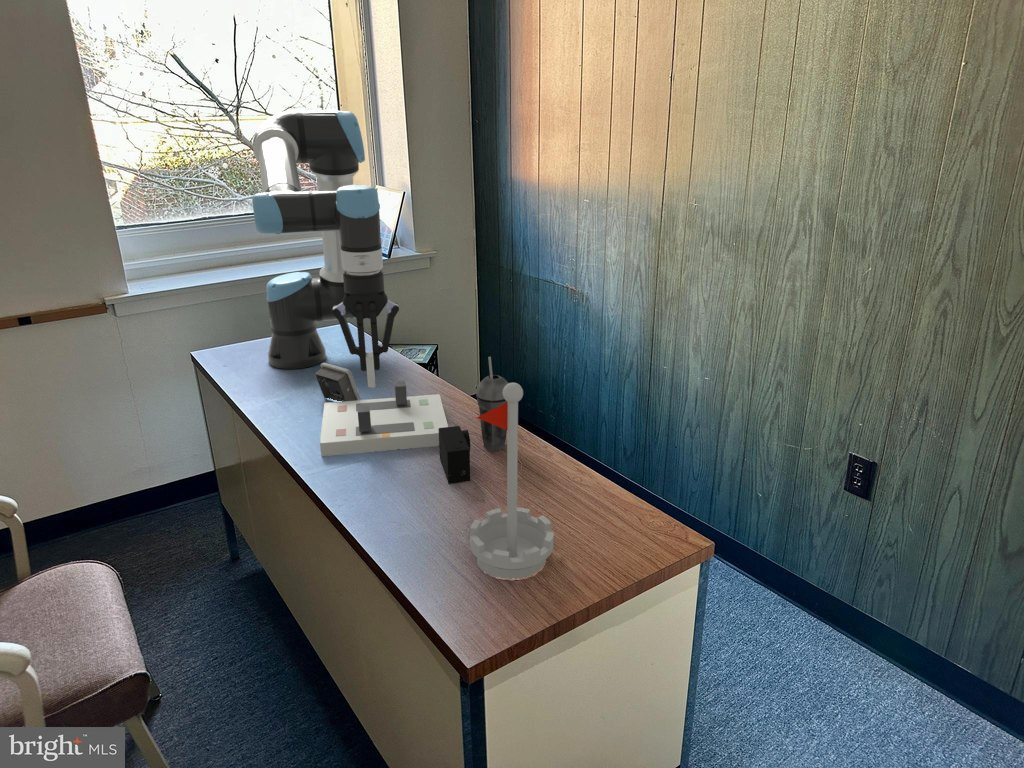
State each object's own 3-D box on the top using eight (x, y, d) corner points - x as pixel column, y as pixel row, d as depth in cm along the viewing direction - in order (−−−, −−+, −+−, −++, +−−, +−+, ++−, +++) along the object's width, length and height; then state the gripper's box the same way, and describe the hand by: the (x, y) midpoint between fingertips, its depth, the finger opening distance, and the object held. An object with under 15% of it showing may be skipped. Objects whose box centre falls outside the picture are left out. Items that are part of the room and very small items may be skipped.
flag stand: (545, 532, 116) (550, 364, 105) (560, 582, 104) (567, 399, 93) (467, 537, 115) (464, 368, 103) (473, 588, 103) (469, 404, 91)
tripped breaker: (359, 425, 145) (357, 406, 143) (371, 424, 145) (369, 405, 144) (359, 431, 142) (357, 412, 140) (371, 430, 143) (369, 411, 141)
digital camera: (476, 481, 131) (476, 448, 129) (448, 484, 130) (447, 451, 127) (466, 455, 141) (465, 424, 138) (439, 458, 139) (438, 427, 137)
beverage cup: (518, 445, 145) (519, 355, 137) (494, 457, 140) (494, 364, 132) (493, 434, 149) (493, 346, 142) (469, 445, 144) (467, 355, 137)
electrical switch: (361, 402, 165) (355, 367, 160) (346, 411, 161) (339, 376, 157) (333, 393, 169) (327, 359, 165) (318, 402, 166) (310, 367, 161)
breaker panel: (325, 414, 158) (324, 402, 157) (439, 405, 163) (439, 393, 162) (321, 456, 140) (319, 442, 139) (450, 445, 145) (449, 431, 144)
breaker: (395, 399, 157) (394, 381, 156) (406, 398, 158) (405, 380, 156) (396, 405, 154) (395, 386, 153) (407, 404, 155) (406, 386, 153)
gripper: (326, 277, 127) (338, 394, 136) (398, 274, 129) (405, 389, 139) (328, 267, 134) (339, 379, 143) (396, 264, 136) (403, 375, 145)
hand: (371, 384), depth 141 cm, fingers closed
